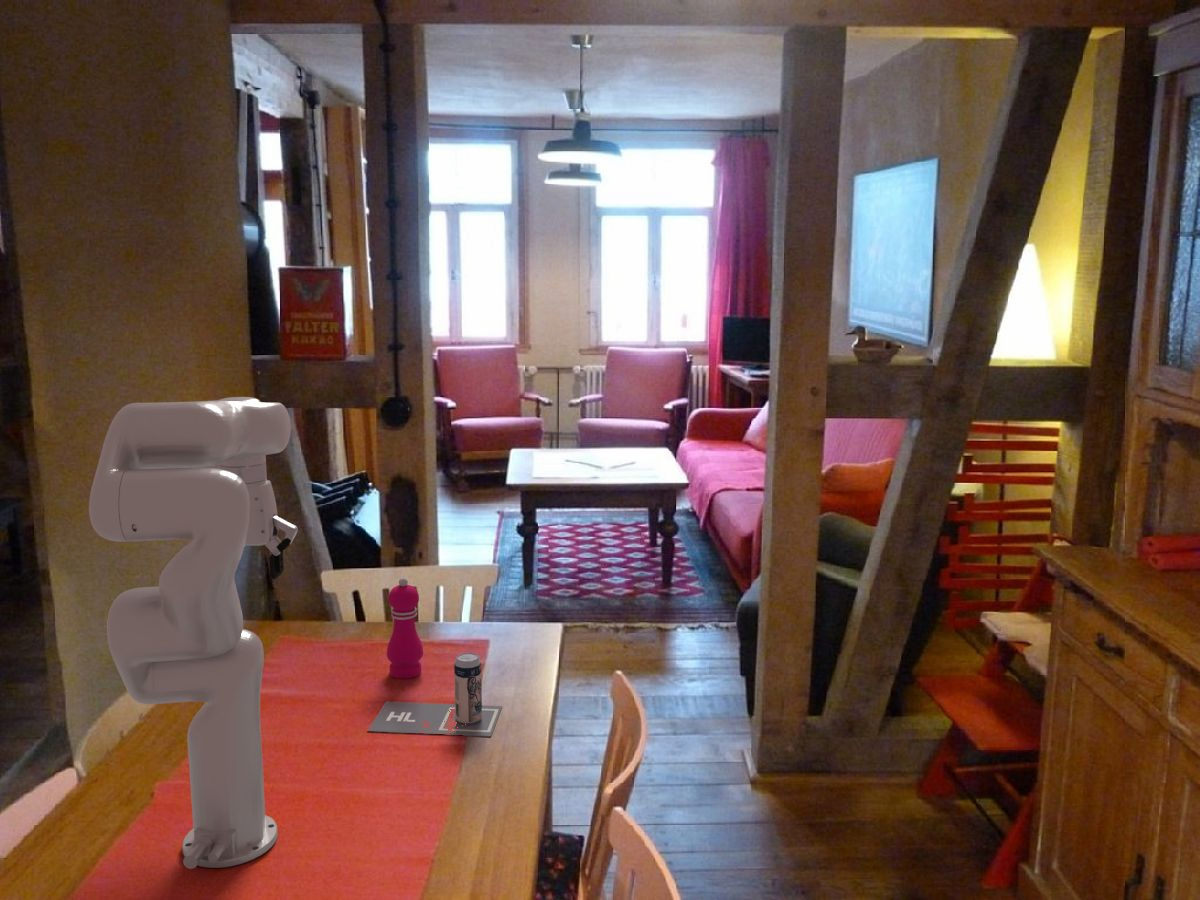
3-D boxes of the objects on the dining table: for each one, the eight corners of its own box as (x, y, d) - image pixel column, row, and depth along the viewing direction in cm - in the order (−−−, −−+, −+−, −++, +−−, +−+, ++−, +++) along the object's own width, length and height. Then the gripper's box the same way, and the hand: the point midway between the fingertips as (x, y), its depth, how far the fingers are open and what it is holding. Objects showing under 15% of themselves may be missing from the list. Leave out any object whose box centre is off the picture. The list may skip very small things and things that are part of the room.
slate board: (490, 737, 171) (490, 735, 171) (367, 731, 173) (367, 730, 172) (502, 707, 183) (502, 706, 183) (386, 702, 184) (386, 701, 184)
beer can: (477, 726, 174) (476, 663, 172) (451, 724, 175) (450, 661, 173) (485, 715, 179) (484, 653, 177) (460, 712, 180) (459, 651, 178)
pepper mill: (431, 670, 199) (429, 576, 196) (406, 683, 193) (403, 585, 190) (404, 663, 203) (402, 570, 199) (379, 674, 197) (376, 579, 193)
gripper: (178, 477, 155) (185, 581, 158) (285, 480, 154) (290, 584, 157) (200, 468, 162) (206, 567, 166) (302, 470, 161) (307, 570, 164)
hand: (247, 575), depth 161 cm, fingers open, 9 cm apart
